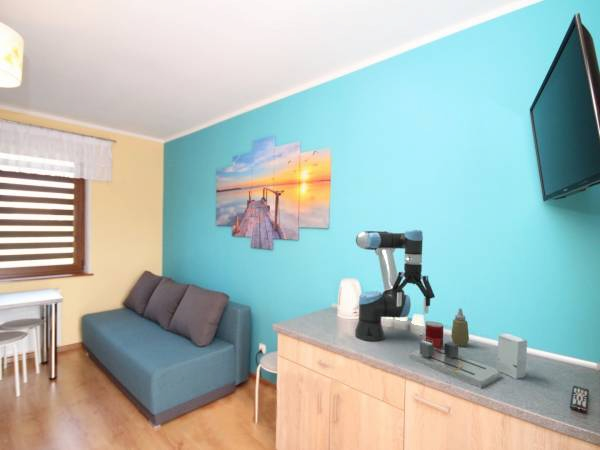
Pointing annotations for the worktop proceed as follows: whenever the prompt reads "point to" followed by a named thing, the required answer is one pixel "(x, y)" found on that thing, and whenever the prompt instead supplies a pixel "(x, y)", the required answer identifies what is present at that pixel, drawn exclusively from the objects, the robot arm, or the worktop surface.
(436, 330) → the canned food
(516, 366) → the skincare box
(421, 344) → the fader
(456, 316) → the squeeze bottle
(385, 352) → the worktop surface
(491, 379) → the console
